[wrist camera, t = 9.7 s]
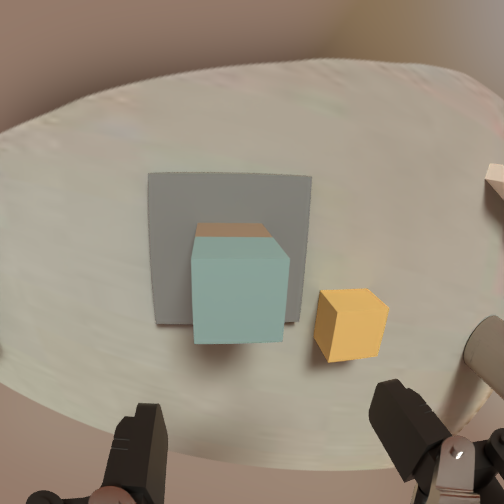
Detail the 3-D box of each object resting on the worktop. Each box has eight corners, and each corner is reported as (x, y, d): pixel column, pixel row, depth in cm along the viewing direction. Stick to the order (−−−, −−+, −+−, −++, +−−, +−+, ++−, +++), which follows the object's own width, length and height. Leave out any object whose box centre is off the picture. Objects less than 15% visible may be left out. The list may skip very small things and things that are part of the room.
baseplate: (307, 175, 28) (333, 180, 22) (296, 315, 32) (314, 348, 26) (150, 172, 26) (134, 176, 20) (157, 317, 30) (147, 353, 24)
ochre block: (366, 288, 32) (389, 308, 27) (358, 332, 34) (377, 356, 29) (319, 290, 31) (337, 312, 27) (313, 336, 33) (328, 362, 28)
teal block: (273, 237, 22) (290, 258, 18) (268, 307, 24) (282, 341, 19) (195, 236, 22) (191, 258, 17) (196, 307, 23) (194, 343, 19)
